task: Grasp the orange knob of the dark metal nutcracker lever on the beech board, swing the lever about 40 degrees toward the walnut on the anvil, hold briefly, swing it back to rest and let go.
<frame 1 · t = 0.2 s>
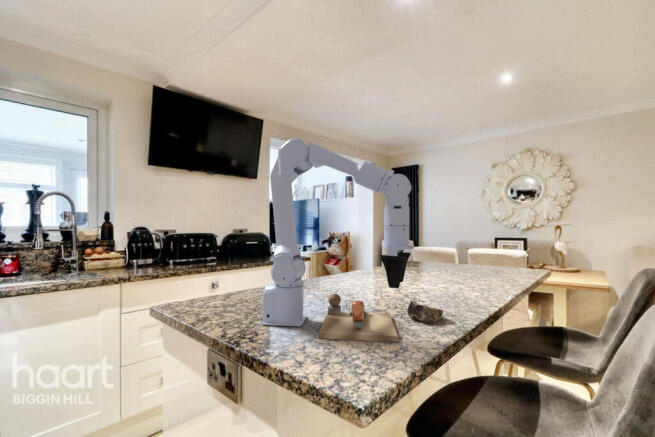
hand: (396, 284, 68), 10 cm above the countertop, fingers open, 7 cm apart
lever: (358, 305, 70), point 4 cm above the countertop, hinge at 0.0°
rock: (424, 319, 75), on the countertop
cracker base: (358, 327, 68), on the countertop
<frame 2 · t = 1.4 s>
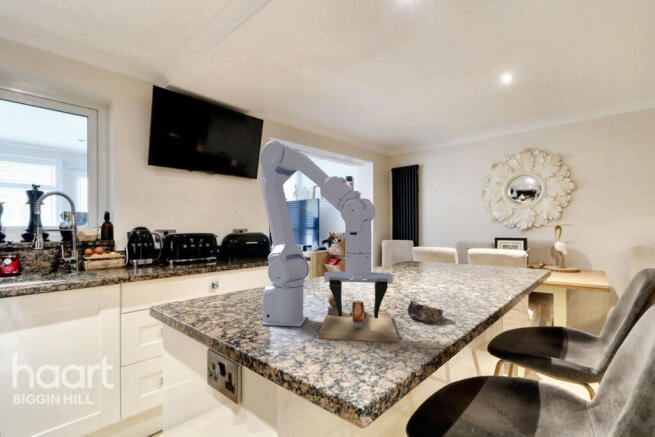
hand: (357, 316, 63), 4 cm above the countertop, fingers open, 7 cm apart
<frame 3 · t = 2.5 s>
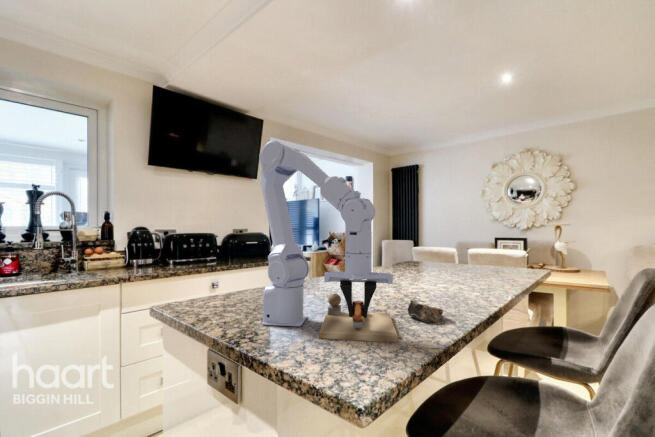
hand: (357, 316, 63), 4 cm above the countertop, fingers closed on lever, 2 cm apart
lever: (358, 305, 70), point 4 cm above the countertop, hinge at 0.0°, touching gripper
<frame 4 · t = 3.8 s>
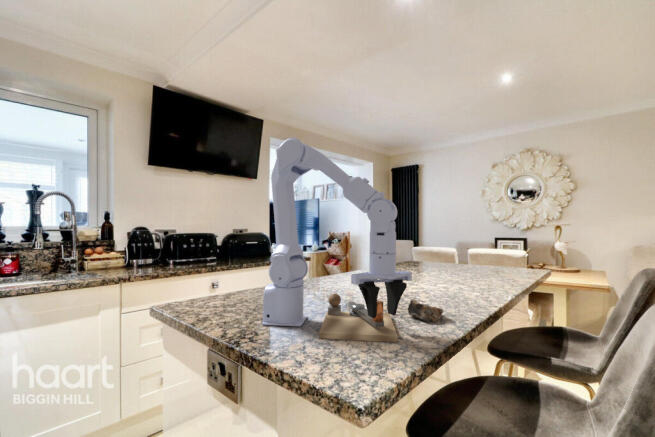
hand: (382, 315, 64), 4 cm above the countertop, fingers open, 4 cm apart
lever: (363, 305, 70), point 4 cm above the countertop, hinge at 22.9°, touching gripper
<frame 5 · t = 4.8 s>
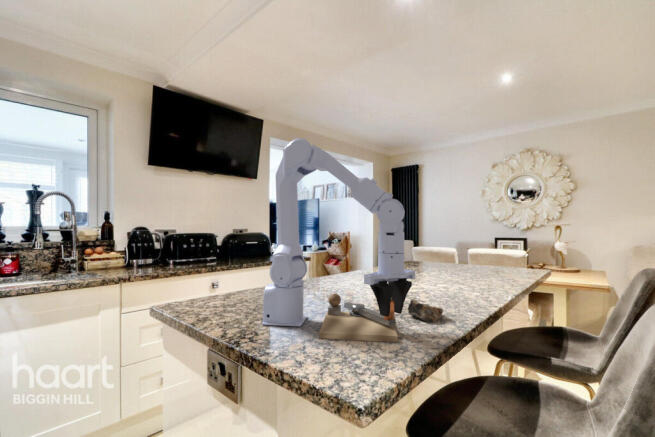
hand: (390, 314, 65), 4 cm above the countertop, fingers open, 3 cm apart
lever: (367, 304, 71), point 4 cm above the countertop, hinge at 38.3°, touching gripper
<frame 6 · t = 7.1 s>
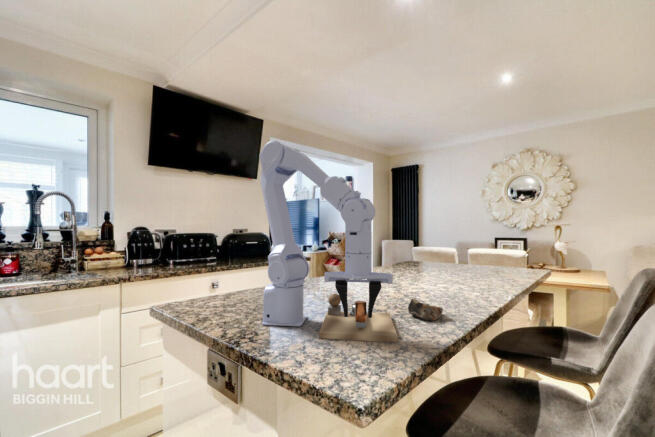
hand: (357, 316, 63), 4 cm above the countertop, fingers open, 4 cm apart
lever: (358, 305, 70), point 4 cm above the countertop, hinge at 3.2°
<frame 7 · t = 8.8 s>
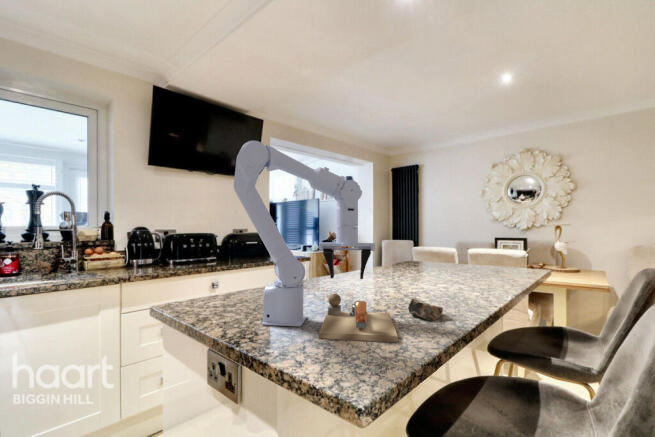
hand: (346, 278, 76), 10 cm above the countertop, fingers open, 7 cm apart
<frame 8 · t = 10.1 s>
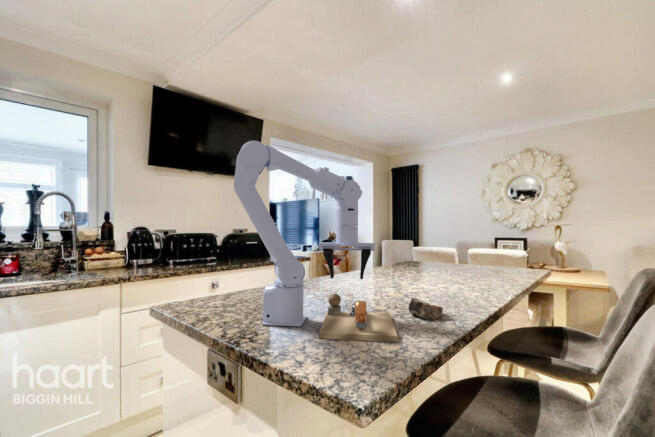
hand: (346, 278, 76), 10 cm above the countertop, fingers open, 7 cm apart
at the end: lever at +3° (first picture: +0°); the gripper is holding nothing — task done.
